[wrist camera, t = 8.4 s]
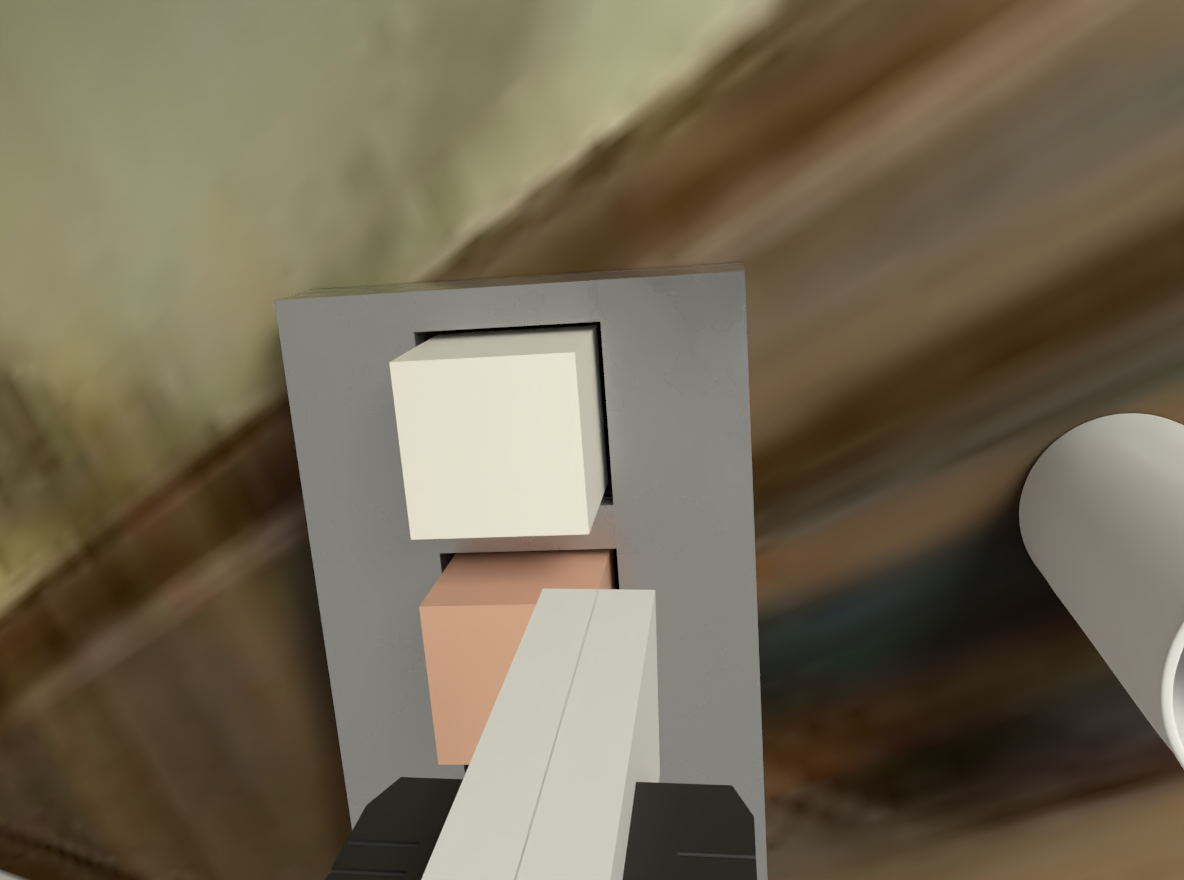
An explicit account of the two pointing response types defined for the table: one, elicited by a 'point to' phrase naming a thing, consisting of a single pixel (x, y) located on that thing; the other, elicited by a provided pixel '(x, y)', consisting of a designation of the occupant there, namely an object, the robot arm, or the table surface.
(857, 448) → the table surface
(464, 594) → the terracotta key
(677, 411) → the grey slotted board
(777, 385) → the table surface
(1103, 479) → the mug
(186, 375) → the table surface
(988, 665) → the table surface
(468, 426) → the cream cube
